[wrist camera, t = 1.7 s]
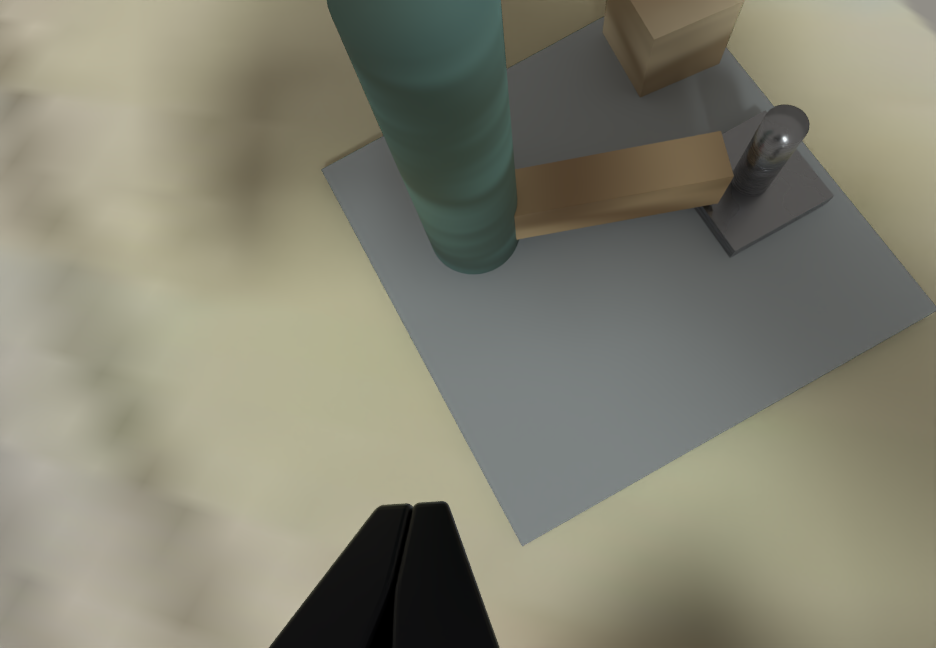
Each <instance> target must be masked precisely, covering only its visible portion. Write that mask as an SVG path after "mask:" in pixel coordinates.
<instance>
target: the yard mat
mask: <svg viewBox="0 0 936 648" xmlns="http://www.w3.org/2000/svg"><path fill="white" fill-rule="evenodd" d="M603 24H604V17H602V18H600V19H598V20H596V21H594V22H593V23H591V24H589V25H587V26H585V27H583V28H582V29H580V30H578V31H576V32H574V33H572V34H570V35H569V36H567V37H565V38H563V39H561V40H559V41H558V42H556V43H554V44H552V45H550V46H548V47H546V48H545V49H543V50H541V51H539V52H537V53H535V54H534V55H532V56H530V57H528V58H526V59H524V60H523V61H521V62H519V63H517V64H515V65H513V66H511V67H510V68H508V69H507V81H508V93H509V105H510V117H511V128H512V140H513V152H514V164H515V169H520V168H525V167H530V166H536V165H541V164H546V163H552V162H557V161H562V160H568V159H573V158H578V157H584V156H589V155H594V154H600V153H605V152H610V151H616V150H621V149H626V148H632V147H637V146H642V145H648V144H653V143H658V142H664V141H669V140H674V139H680V138H685V137H690V136H696V135H701V134H706V133H712V132H717V131H721V133H722V134H723V133H725V132H727V131H729V130H731V129H732V128H734V127H736V126H738V125H740V124H741V123H743V122H745V121H747V120H749V119H751V118H752V117H754V116H756V115H758V114H760V113H761V112H763V111H765V110H766V112H768V111H769V110H770V109H772V108H773V107H774V106H773V105H772V103H771V102H770V101H769V100H768V98H767V97H766V96H765V95H764V93H763V92H762V91H761V90H760V88H759V87H758V86H757V85H756V84H755V82H754V81H753V80H752V79H751V77H750V76H749V75H748V74H747V72H746V71H745V70H744V69H743V68H742V66H741V65H740V64H739V63H738V61H737V60H736V59H735V58H734V56H733V55H732V54H731V53H730V51H729V50H728V49H727V48H725V51H724V53H723V55H722V58H721V60H720V63H719V64H717V65H715V66H713V67H710V68H708V69H706V70H703V71H701V72H699V73H696V74H694V75H692V76H689V77H687V78H685V79H682V80H680V81H678V82H675V83H673V84H671V85H668V86H666V87H664V88H661V89H659V90H657V91H654V92H652V93H650V94H647V95H645V96H643V97H639V95H638V93H637V91H636V90H635V88H634V86H633V84H632V83H631V81H630V79H629V78H628V76H627V74H626V72H625V71H624V69H623V67H622V65H621V64H620V62H619V60H618V58H617V57H616V55H615V53H614V52H613V50H612V48H611V46H610V45H609V43H608V41H607V39H606V38H605V36H604V34H603ZM796 149H797V150H798V152H799V153H800V154H801V155H802V157H803V158H804V159H805V160H806V162H807V163H808V164H809V165H810V166H811V168H812V169H813V170H814V171H815V173H816V174H817V175H818V176H819V178H820V179H821V180H822V181H823V183H824V184H825V185H826V186H827V188H828V189H829V190H830V191H831V193H832V194H833V195H834V197H833V198H832V199H831V200H830V201H829V202H828V203H827V204H826V205H824V206H822V207H820V208H819V209H817V210H815V211H813V212H811V213H810V214H808V215H806V216H804V217H803V218H801V219H799V220H797V221H795V222H794V223H792V224H790V225H788V226H786V227H785V228H783V229H781V230H779V231H777V232H776V233H774V234H772V235H770V236H769V237H767V238H765V239H763V240H761V241H760V242H758V243H756V244H754V245H752V246H751V247H749V248H747V249H745V250H743V251H742V252H740V253H738V254H736V255H735V256H733V257H731V258H730V257H729V256H728V255H727V253H726V252H725V251H724V249H723V248H722V246H721V245H720V244H719V242H718V241H717V239H716V238H715V237H714V235H713V234H712V233H711V231H710V230H709V228H708V227H707V226H706V224H705V223H704V221H703V220H702V219H701V217H700V216H699V215H698V213H697V212H696V210H695V209H694V208H689V209H684V210H678V211H673V212H667V213H662V214H656V215H651V216H645V217H640V218H634V219H628V220H623V221H617V222H612V223H606V224H601V225H595V226H590V227H584V228H579V229H573V230H567V231H562V232H556V233H551V234H545V235H540V236H534V237H529V238H523V239H519V241H518V244H517V247H516V249H515V251H514V252H513V254H512V255H511V257H510V258H509V259H508V260H507V261H506V262H505V263H504V264H502V265H501V266H500V267H498V268H496V269H494V270H492V271H490V272H487V273H482V274H464V273H460V272H457V271H454V270H452V269H450V268H449V267H447V266H446V265H445V264H443V263H442V262H441V261H440V260H439V258H438V257H437V256H436V254H435V252H434V250H433V248H432V246H431V243H430V241H429V239H428V236H427V234H426V232H425V230H424V227H423V225H422V223H421V220H420V218H419V216H418V214H417V211H416V209H415V207H414V204H413V202H412V200H411V197H410V195H409V193H408V191H407V188H406V186H405V184H404V181H403V179H402V177H401V175H400V172H399V170H398V168H397V165H396V163H395V161H394V159H393V156H392V154H391V152H390V149H389V147H388V145H387V142H386V140H385V138H384V136H382V137H380V138H379V139H377V140H375V141H373V142H371V143H369V144H368V145H366V146H364V147H362V148H360V149H358V150H356V151H355V152H353V153H351V154H349V155H347V156H345V157H344V158H342V159H340V160H338V161H336V162H334V163H333V164H331V165H329V166H327V167H325V168H323V169H321V170H322V172H323V174H324V176H325V178H326V180H327V181H328V183H329V185H330V187H331V189H332V191H333V193H334V195H335V196H336V198H337V200H338V202H339V204H340V206H341V208H342V210H343V211H344V213H345V215H346V217H347V219H348V221H349V223H350V225H351V226H352V228H353V230H354V232H355V234H356V236H357V238H358V239H359V241H360V243H361V245H362V247H363V249H364V251H365V253H366V254H367V256H368V258H369V260H370V262H371V264H372V266H373V268H374V269H375V271H376V273H377V275H378V277H379V279H380V281H381V283H382V284H383V286H384V288H385V290H386V292H387V294H388V296H389V298H390V299H391V301H392V303H393V305H394V307H395V309H396V311H397V313H398V314H399V316H400V318H401V320H402V322H403V324H404V326H405V328H406V329H407V331H408V333H409V335H410V337H411V339H412V341H413V343H414V344H415V346H416V348H417V350H418V352H419V354H420V356H421V358H422V359H423V361H424V363H425V365H426V367H427V369H428V371H429V373H430V374H431V376H432V378H433V380H434V382H435V384H436V386H437V387H438V389H439V391H440V393H441V395H442V397H443V399H444V401H445V402H446V404H447V406H448V408H449V410H450V412H451V414H452V416H453V417H454V419H455V421H456V423H457V425H458V427H459V429H460V431H461V432H462V434H463V436H464V438H465V440H466V442H467V444H468V446H469V447H470V449H471V451H472V453H473V455H474V457H475V459H476V461H477V462H478V464H479V466H480V468H481V470H482V472H483V474H484V476H485V477H486V479H487V481H488V483H489V485H490V487H491V489H492V491H493V492H494V494H495V496H496V498H497V500H498V502H499V504H500V506H501V507H502V509H503V511H504V513H505V515H506V517H507V519H508V520H509V522H510V524H511V526H512V528H513V530H514V532H515V534H516V535H517V537H518V539H519V541H520V543H521V545H522V546H524V545H525V544H527V543H529V542H531V541H532V540H534V539H536V538H538V537H539V536H541V535H543V534H545V533H546V532H548V531H550V530H552V529H553V528H555V527H557V526H559V525H560V524H562V523H564V522H566V521H568V520H569V519H571V518H573V517H575V516H576V515H578V514H580V513H582V512H583V511H585V510H587V509H589V508H590V507H592V506H594V505H596V504H597V503H599V502H601V501H603V500H604V499H606V498H608V497H610V496H612V495H613V494H615V493H617V492H619V491H620V490H622V489H624V488H626V487H627V486H629V485H631V484H633V483H634V482H636V481H638V480H640V479H641V478H643V477H645V476H647V475H648V474H650V473H652V472H654V471H656V470H657V469H659V468H661V467H663V466H664V465H666V464H668V463H670V462H671V461H673V460H675V459H677V458H678V457H680V456H682V455H684V454H685V453H687V452H689V451H691V450H692V449H694V448H696V447H698V446H700V445H701V444H703V443H705V442H707V441H708V440H710V439H712V438H714V437H715V436H717V435H719V434H721V433H722V432H724V431H726V430H728V429H729V428H731V427H733V426H735V425H736V424H738V423H740V422H742V421H744V420H745V419H747V418H749V417H751V416H752V415H754V414H756V413H758V412H759V411H761V410H763V409H765V408H766V407H768V406H770V405H772V404H773V403H775V402H777V401H779V400H780V399H782V398H784V397H786V396H788V395H789V394H791V393H793V392H795V391H796V390H798V389H800V388H802V387H803V386H805V385H807V384H809V383H810V382H812V381H814V380H816V379H817V378H819V377H821V376H823V375H824V374H826V373H828V372H830V371H832V370H833V369H835V368H837V367H839V366H840V365H842V364H844V363H846V362H847V361H849V360H851V359H853V358H854V357H856V356H858V355H860V354H861V353H863V352H865V351H867V350H868V349H870V348H872V347H874V346H876V345H877V344H879V343H881V342H883V341H884V340H886V339H888V338H890V337H891V336H893V335H895V334H897V333H898V332H900V331H902V330H904V329H905V328H907V327H909V326H911V325H912V324H914V323H916V322H918V321H920V320H921V319H923V318H925V317H927V316H928V315H930V314H932V313H934V312H935V311H936V306H935V304H934V303H933V302H932V301H931V299H930V298H929V297H928V296H927V295H926V293H925V292H924V291H923V290H922V288H921V287H920V286H919V285H918V283H917V282H916V281H915V280H914V279H913V277H912V276H911V275H910V274H909V272H908V271H907V270H906V269H905V267H904V266H903V265H902V264H901V262H900V261H899V260H898V259H897V258H896V256H895V255H894V254H893V253H892V251H891V250H890V249H889V248H888V246H887V245H886V244H885V243H884V242H883V240H882V239H881V238H880V237H879V235H878V234H877V233H876V232H875V230H874V229H873V228H872V227H871V225H870V224H869V223H868V222H867V221H866V219H865V218H864V217H863V216H862V214H861V213H860V212H859V211H858V209H857V208H856V207H855V206H854V204H853V203H852V202H851V201H850V200H849V198H848V197H847V196H846V195H845V193H844V192H843V191H842V190H841V188H840V187H839V186H838V185H837V184H836V182H835V181H834V180H833V179H832V177H831V176H830V175H829V174H828V172H827V171H826V170H825V169H824V167H823V166H822V165H821V164H820V163H819V161H818V160H817V159H816V158H815V156H814V155H813V154H812V153H811V151H810V150H809V149H808V148H807V146H806V145H805V144H804V143H803V142H802V141H801V143H800V144H799V146H798V147H797V148H796Z"/></svg>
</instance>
